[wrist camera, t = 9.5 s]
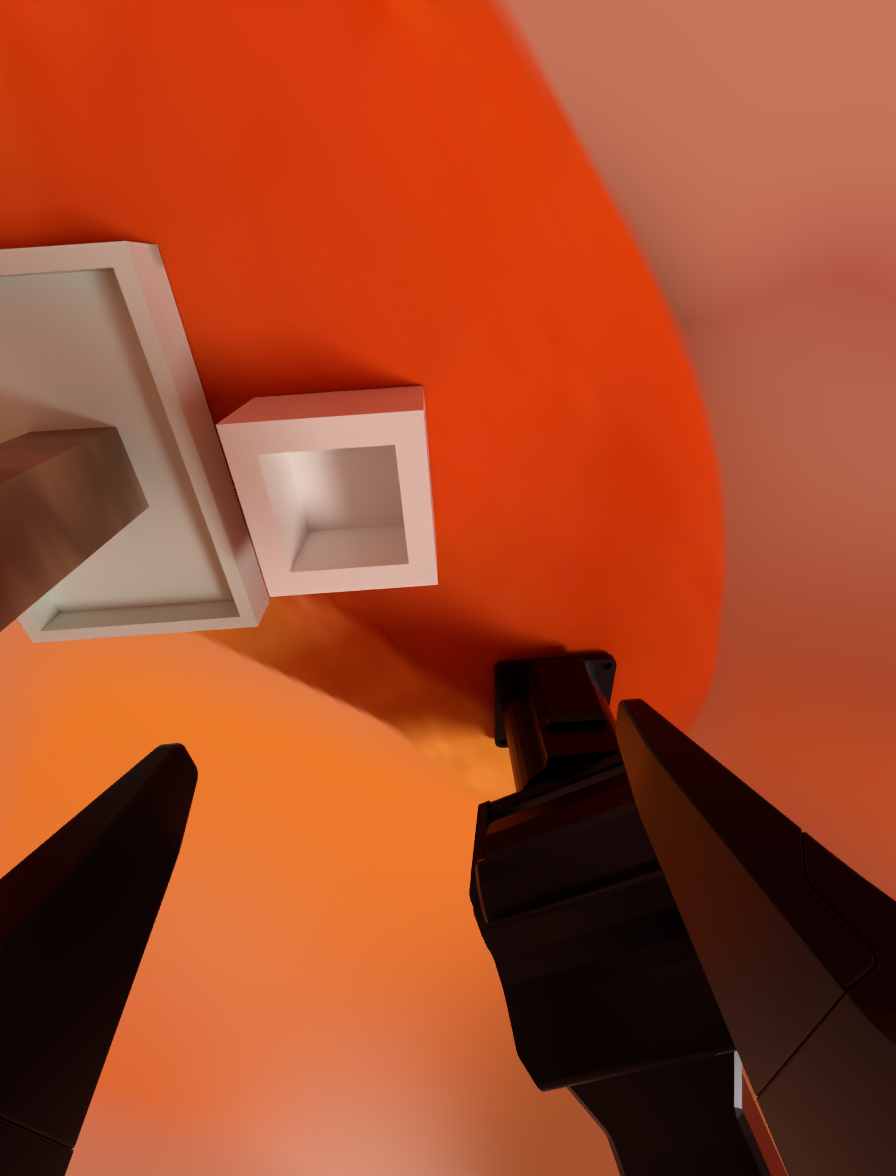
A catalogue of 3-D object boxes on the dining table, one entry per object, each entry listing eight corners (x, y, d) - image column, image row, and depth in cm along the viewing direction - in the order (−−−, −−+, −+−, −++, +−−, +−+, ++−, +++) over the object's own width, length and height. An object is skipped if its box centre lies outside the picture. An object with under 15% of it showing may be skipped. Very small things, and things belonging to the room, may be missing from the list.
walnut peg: (149, 506, 20) (-21, 649, 12) (70, 511, 20) (-150, 658, 12) (116, 426, 18) (-107, 535, 10) (29, 432, 18) (-257, 545, 10)
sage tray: (269, 601, 23) (257, 626, 21) (61, 616, 23) (33, 643, 21) (157, 244, 16) (125, 241, 14) (-154, 266, 15) (-225, 265, 14)
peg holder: (435, 536, 22) (438, 584, 18) (293, 547, 22) (269, 596, 18) (423, 385, 18) (423, 410, 15) (253, 397, 18) (215, 424, 15)
